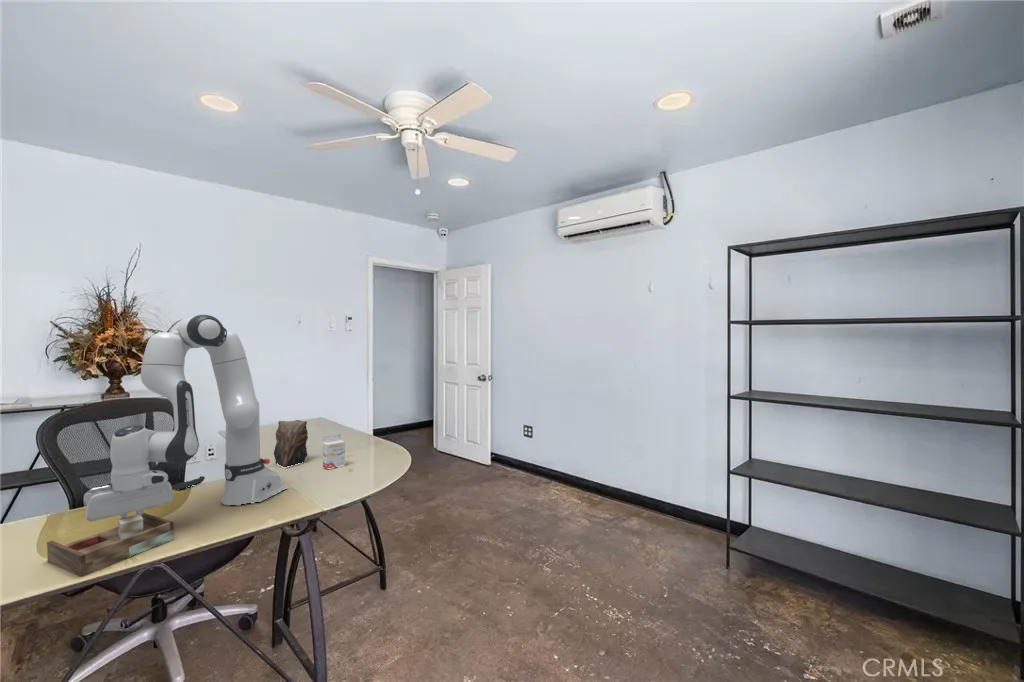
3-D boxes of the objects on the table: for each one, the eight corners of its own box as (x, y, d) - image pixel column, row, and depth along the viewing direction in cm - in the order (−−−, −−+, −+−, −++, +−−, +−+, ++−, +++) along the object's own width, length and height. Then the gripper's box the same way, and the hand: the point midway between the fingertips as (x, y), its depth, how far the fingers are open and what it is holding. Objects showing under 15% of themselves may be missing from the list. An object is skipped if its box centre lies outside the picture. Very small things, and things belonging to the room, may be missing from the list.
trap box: (140, 528, 143) (140, 511, 143) (174, 539, 136) (173, 521, 136) (47, 561, 123) (47, 542, 123) (81, 576, 116) (80, 556, 116)
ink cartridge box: (326, 470, 201) (326, 438, 200) (322, 467, 204) (322, 435, 204) (345, 466, 206) (344, 434, 206) (341, 463, 210) (340, 432, 210)
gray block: (140, 529, 136) (139, 513, 136) (143, 535, 133) (143, 518, 132) (118, 535, 132) (118, 519, 132) (121, 541, 129) (120, 524, 129)
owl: (272, 463, 210) (272, 421, 210) (300, 457, 220) (299, 417, 219) (283, 469, 202) (282, 425, 201) (311, 462, 211) (310, 421, 210)
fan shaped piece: (213, 480, 188) (213, 477, 188) (181, 492, 175) (181, 488, 175) (198, 478, 190) (198, 475, 190) (165, 490, 177) (165, 486, 177)
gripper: (84, 492, 125) (86, 541, 125) (174, 474, 140) (175, 517, 141) (81, 487, 129) (83, 534, 129) (169, 470, 144) (170, 511, 145)
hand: (132, 525), depth 135 cm, fingers closed
